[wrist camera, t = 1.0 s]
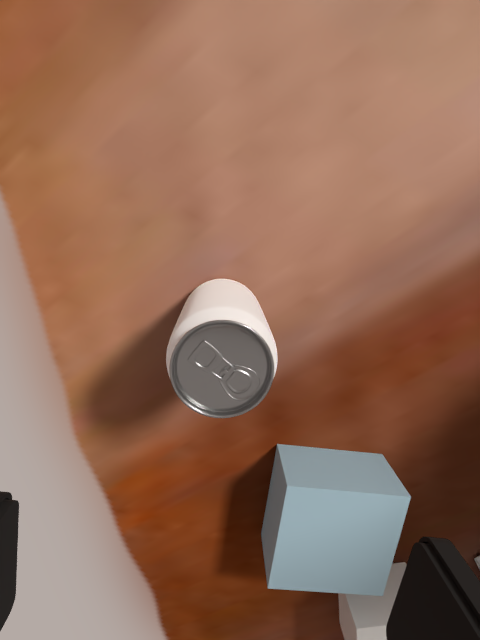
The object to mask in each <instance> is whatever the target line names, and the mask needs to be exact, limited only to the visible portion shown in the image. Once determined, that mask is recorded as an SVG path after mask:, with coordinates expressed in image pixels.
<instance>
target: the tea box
mask: <svg viewBox="0 0 480 640" xmlns="http://www.w3.org/2000/svg"><path fill="white" fill-rule="evenodd" d="M474 560H475V562H476V564H477V566H478V568H479V569H480V556H478V557H476V558H474Z"/></svg>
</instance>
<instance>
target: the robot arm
mask: <svg viewBox="0 0 480 640" xmlns="http://www.w3.org/2000/svg"><path fill="white" fill-rule="evenodd" d="M18 513H19V503H18V501H16V500H12V495H11V493H9V492H0V631H1V629H2V627H3V625H4V623H5V621H6V620H7V618H8V616H9V614H10V612H11V609H12V606H13V603H14V600H15V594H16V570H17V542H18V515H19V514H18ZM386 637H387V640H480V581H479V580H478V578H477V577H476V576H475V574H474V573H473V571H472V570H471V569H470V567H469V566H468V564H467V563H466V562H465V560H464V559H463V557H462V556H461V555H460V553H459V552H458V550H457V549H456V548H455V546H454V545H453V544H452V543H451V541H449V540H448V539H443V538H434V537H422V538H421V539H420V541H419V543H415V544H414V545H413V548H412V551H411V554H410V557H409V560H408V563H407V566H406V569H405V572H404V575H403V578H402V581H401V583H400V586H399V589H398V592H397V595H396V598H395V601H394V604H393V607H392V610H391V613H390V616H389V619H388V622H387V626H386Z"/></svg>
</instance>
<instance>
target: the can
mask: <svg viewBox="0 0 480 640" xmlns="http://www.w3.org/2000/svg"><path fill="white" fill-rule="evenodd" d="M166 365H167V371H168V374H169V377H170V380H171V383H172V386H173V388H174V390H175V392H176V394H177V395H178V397H179V398H180V399H181V401H182V402H183V403H184V404H185V405H187V406H188V407H189V408H190V409H192V410H194V411H195V412H197V413H199V414H202V415H205V416H208V417H214V418H229V417H235V416H238V415H241V414H244V413H246V412H248V411H250V410H251V409H253V408H254V407H255V406H257V405H258V404H259V403H260V402H261V401H262V400H263V399H264V397H265V396H266V394H267V393H268V391H269V389H270V387H271V384H272V381H273V378H274V375H275V372H276V368H277V348H276V344H275V341H274V338H273V335H272V332H271V330H270V328H269V325H268V323H267V321H266V318H265V316H264V314H263V311H262V309H261V307H260V305H259V303H258V301H257V299H256V297H255V296H254V294H253V293H252V292H251V291H250V290H249V289H248V288H247V287H246V286H244V285H243V284H241V283H239V282H236V281H234V280H230V279H214V280H210V281H207V282H205V283H203V284H201V285H200V286H198V287H197V288H196V289H195V290H194V291H193V292H192V293H191V294H190V295H189V297H188V299H187V300H186V302H185V304H184V307H183V309H182V311H181V313H180V316H179V318H178V320H177V322H176V325H175V327H174V330H173V332H172V334H171V337H170V340H169V343H168V347H167V353H166Z"/></svg>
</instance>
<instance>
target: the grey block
mask: <svg viewBox="0 0 480 640" xmlns="http://www.w3.org/2000/svg"><path fill="white" fill-rule="evenodd" d="M406 566H407V565H406V563H405V562H401V563H393V564H392V566H391V569H390V573H389V576H388V580H387V583H386V587H385V590H384V594H383V596H372V595H358V594H343V593H338V597H339V621H340V626H341V629H342V633H343V636H344V640H387V637H386V626H387V622H388V619H389V616H390V613H391V610H392V607H393V604H394V601H395V598H396V595H397V592H398V589H399V586H400V583H401V581H402V578H403V575H404V572H405V569H406Z"/></svg>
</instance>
